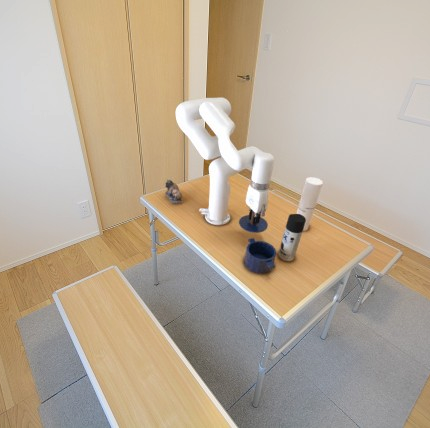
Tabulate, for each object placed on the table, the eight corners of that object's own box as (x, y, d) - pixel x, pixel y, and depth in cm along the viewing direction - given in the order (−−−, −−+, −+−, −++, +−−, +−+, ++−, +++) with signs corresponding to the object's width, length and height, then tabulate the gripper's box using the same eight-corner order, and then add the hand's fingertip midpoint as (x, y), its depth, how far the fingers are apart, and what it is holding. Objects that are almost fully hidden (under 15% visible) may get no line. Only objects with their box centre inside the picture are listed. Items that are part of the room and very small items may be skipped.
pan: (256, 281, 105) (259, 268, 101) (236, 252, 118) (238, 239, 114) (282, 274, 109) (286, 261, 105) (260, 246, 122) (263, 234, 118)
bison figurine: (185, 203, 148) (185, 186, 142) (173, 207, 144) (173, 190, 139) (173, 193, 156) (172, 177, 150) (162, 197, 152) (161, 180, 146)
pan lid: (247, 236, 116) (249, 222, 112) (234, 219, 125) (235, 206, 121) (272, 230, 120) (275, 217, 116) (258, 214, 130) (260, 201, 126)
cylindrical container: (308, 231, 133) (323, 185, 119) (293, 229, 134) (306, 183, 120) (307, 223, 139) (321, 178, 125) (292, 220, 140) (305, 176, 126)
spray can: (276, 250, 120) (286, 212, 109) (291, 250, 121) (302, 212, 110) (280, 261, 115) (291, 223, 104) (296, 261, 116) (309, 222, 104)
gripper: (242, 176, 116) (237, 212, 126) (262, 195, 104) (255, 233, 114) (258, 174, 119) (252, 210, 129) (279, 192, 106) (270, 230, 117)
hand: (253, 220), depth 121 cm, fingers closed on pan lid, 2 cm apart
